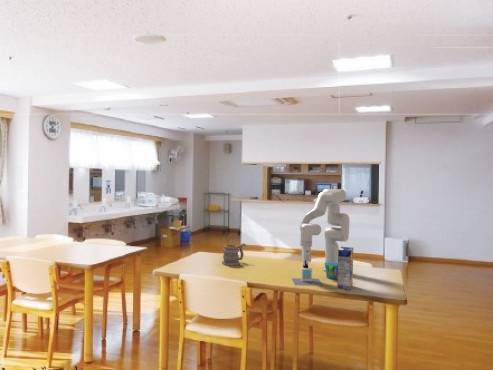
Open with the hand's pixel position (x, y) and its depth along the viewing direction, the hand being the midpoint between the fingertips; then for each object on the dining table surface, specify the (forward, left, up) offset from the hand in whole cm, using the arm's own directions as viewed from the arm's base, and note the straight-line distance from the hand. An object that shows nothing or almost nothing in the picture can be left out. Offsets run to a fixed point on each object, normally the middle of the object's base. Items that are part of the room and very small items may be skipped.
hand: (305, 271), depth 262 cm
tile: (0, +4, -5) cm, 6 cm away
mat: (0, +7, -6) cm, 9 cm away
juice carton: (-22, +16, -6) cm, 28 cm away
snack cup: (-19, -5, -6) cm, 21 cm away
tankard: (+47, -48, -6) cm, 68 cm away
